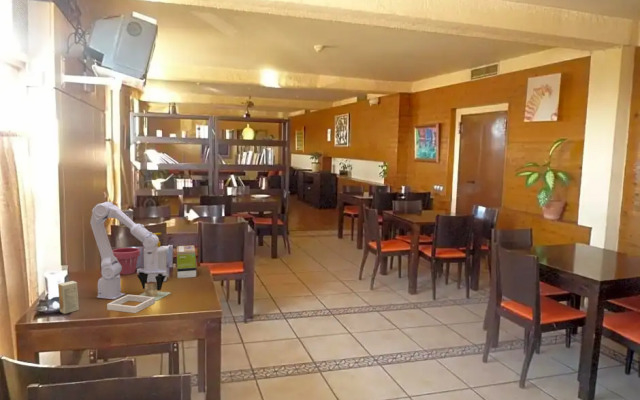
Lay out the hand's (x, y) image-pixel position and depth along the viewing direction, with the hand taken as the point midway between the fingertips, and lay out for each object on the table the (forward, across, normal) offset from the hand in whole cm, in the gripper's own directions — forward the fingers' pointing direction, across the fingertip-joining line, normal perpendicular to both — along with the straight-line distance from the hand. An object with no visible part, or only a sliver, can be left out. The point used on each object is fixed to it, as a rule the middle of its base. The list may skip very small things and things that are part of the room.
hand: (152, 289), depth 220 cm
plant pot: (+3, -38, +32) cm, 50 cm away
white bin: (+3, 0, -15) cm, 15 cm away
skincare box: (+3, -21, -28) cm, 35 cm away
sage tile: (+3, 0, 0) cm, 3 cm away
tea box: (+4, -5, +39) cm, 40 cm away
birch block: (+3, 0, 0) cm, 3 cm away
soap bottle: (+3, -13, +22) cm, 26 cm away
